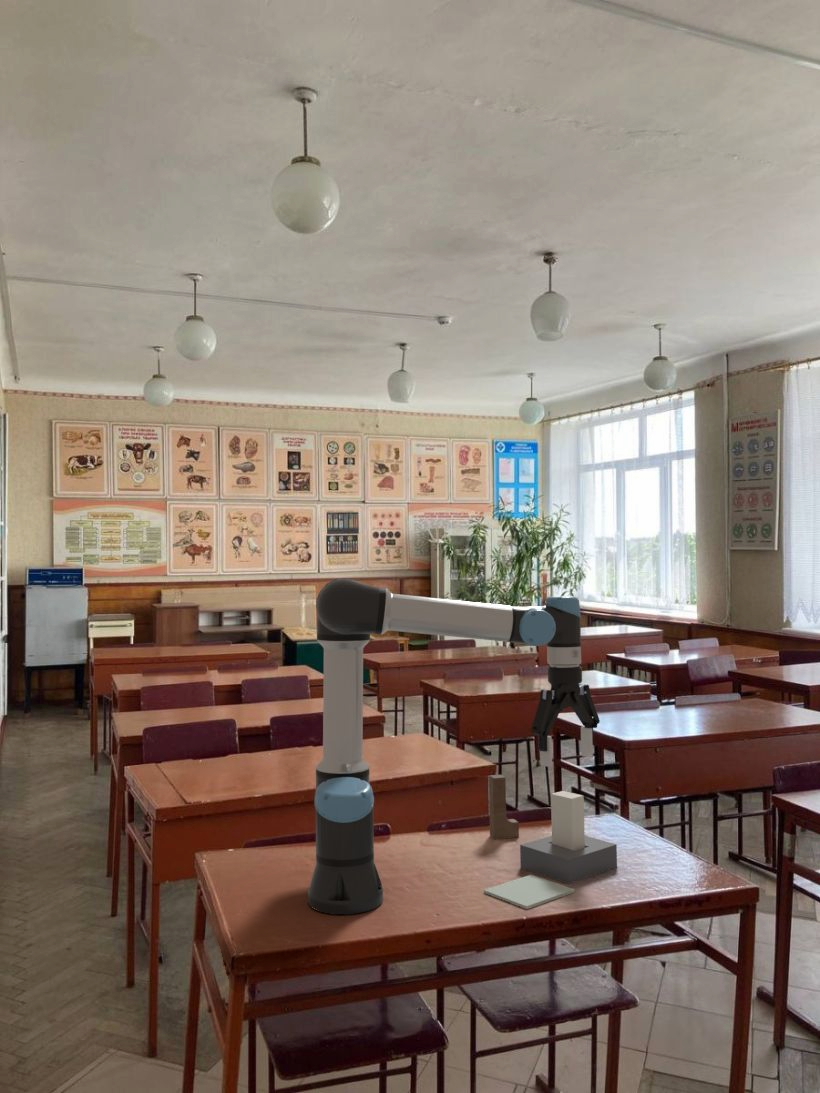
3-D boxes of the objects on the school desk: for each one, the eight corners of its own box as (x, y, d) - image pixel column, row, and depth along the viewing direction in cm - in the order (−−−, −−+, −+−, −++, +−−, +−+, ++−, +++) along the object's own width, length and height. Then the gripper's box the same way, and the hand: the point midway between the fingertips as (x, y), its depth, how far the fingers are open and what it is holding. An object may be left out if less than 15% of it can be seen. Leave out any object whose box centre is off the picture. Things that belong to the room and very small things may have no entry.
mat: (526, 909, 175) (526, 906, 175) (483, 892, 184) (483, 889, 184) (574, 892, 183) (574, 889, 183) (531, 877, 193) (531, 874, 193)
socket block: (569, 883, 188) (568, 859, 189) (520, 867, 199) (520, 844, 199) (617, 867, 199) (616, 844, 199) (568, 852, 209) (568, 830, 210)
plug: (573, 872, 195) (571, 798, 196) (552, 866, 200) (550, 793, 200) (585, 868, 198) (583, 795, 198) (564, 862, 203) (562, 790, 203)
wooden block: (494, 839, 220) (493, 778, 221) (489, 836, 224) (488, 775, 224) (519, 837, 222) (518, 776, 223) (514, 833, 225) (512, 773, 226)
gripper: (538, 671, 189) (541, 772, 189) (613, 662, 205) (616, 755, 205) (513, 669, 195) (515, 767, 195) (587, 659, 211) (590, 750, 210)
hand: (567, 761), depth 200 cm, fingers open, 13 cm apart
